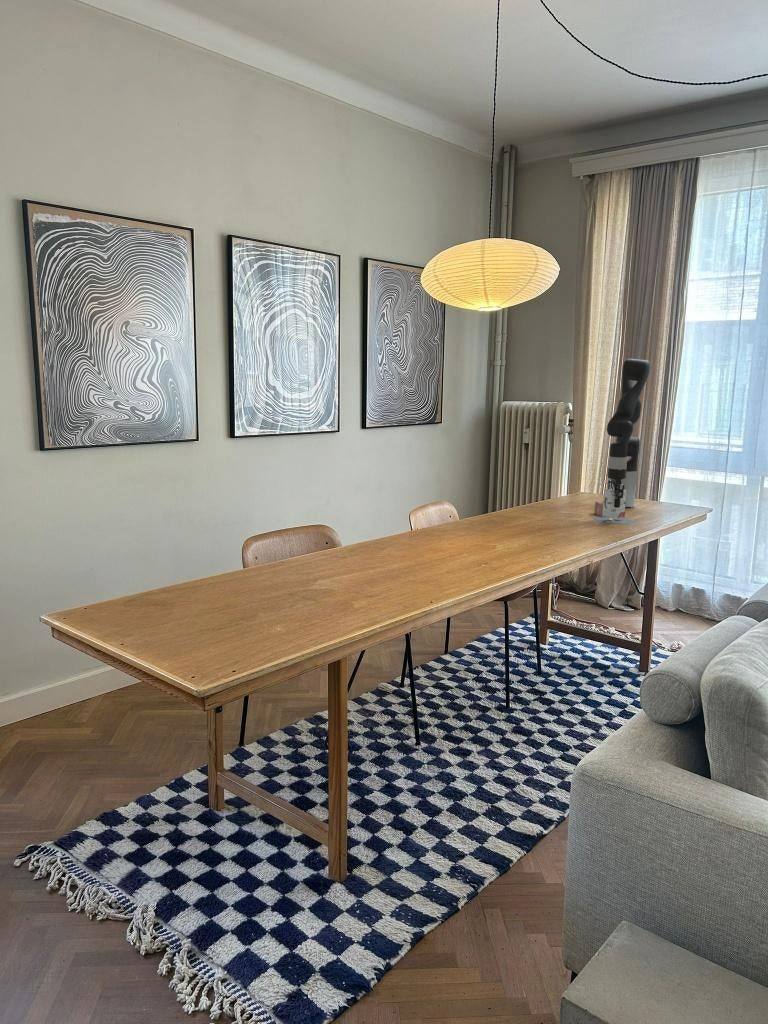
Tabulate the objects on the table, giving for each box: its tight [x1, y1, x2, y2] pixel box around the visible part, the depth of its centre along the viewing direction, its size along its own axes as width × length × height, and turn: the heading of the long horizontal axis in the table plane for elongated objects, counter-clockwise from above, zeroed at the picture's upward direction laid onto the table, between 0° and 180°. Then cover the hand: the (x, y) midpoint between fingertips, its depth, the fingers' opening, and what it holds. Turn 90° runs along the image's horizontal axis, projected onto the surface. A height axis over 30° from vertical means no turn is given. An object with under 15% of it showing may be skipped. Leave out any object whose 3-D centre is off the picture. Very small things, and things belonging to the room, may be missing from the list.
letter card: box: [589, 516, 638, 525], centre depth 331 cm, size 16×16×1 cm
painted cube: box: [593, 500, 603, 517], centre depth 345 cm, size 6×6×6 cm
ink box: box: [601, 489, 626, 519], centre depth 330 cm, size 9×5×12 cm, turn 114°
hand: (614, 506), depth 330 cm, fingers closed on ink box, 6 cm apart
